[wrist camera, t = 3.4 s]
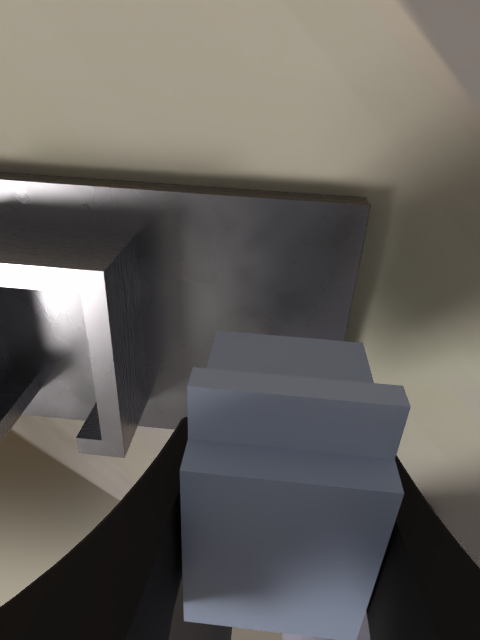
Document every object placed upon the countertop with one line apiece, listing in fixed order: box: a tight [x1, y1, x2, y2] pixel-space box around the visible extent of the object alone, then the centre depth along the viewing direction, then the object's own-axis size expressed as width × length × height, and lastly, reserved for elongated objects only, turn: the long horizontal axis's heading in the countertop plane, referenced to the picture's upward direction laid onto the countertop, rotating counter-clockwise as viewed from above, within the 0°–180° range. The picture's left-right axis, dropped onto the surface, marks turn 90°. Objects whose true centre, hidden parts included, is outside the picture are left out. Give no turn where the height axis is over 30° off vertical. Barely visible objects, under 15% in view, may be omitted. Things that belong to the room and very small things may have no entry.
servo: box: [180, 330, 410, 640], centre depth 12 cm, size 8×4×5 cm, turn 177°
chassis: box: [0, 172, 370, 458], centre depth 17 cm, size 11×15×4 cm
